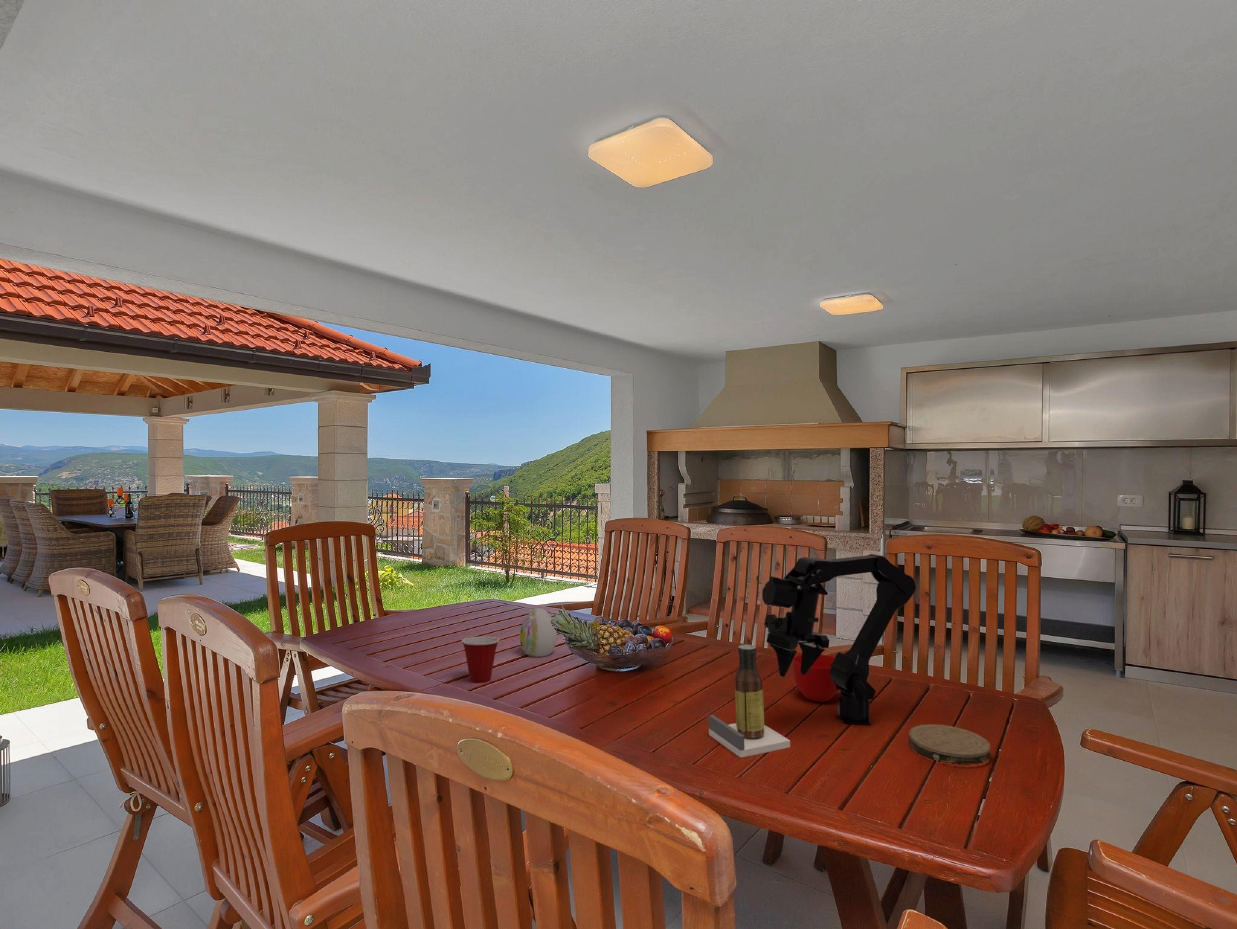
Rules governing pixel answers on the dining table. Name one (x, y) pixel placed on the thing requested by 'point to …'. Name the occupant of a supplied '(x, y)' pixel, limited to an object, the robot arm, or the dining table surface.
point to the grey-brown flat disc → (949, 744)
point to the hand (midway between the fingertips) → (792, 675)
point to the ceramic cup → (815, 679)
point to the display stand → (745, 739)
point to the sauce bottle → (749, 695)
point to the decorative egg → (538, 634)
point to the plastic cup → (480, 657)
